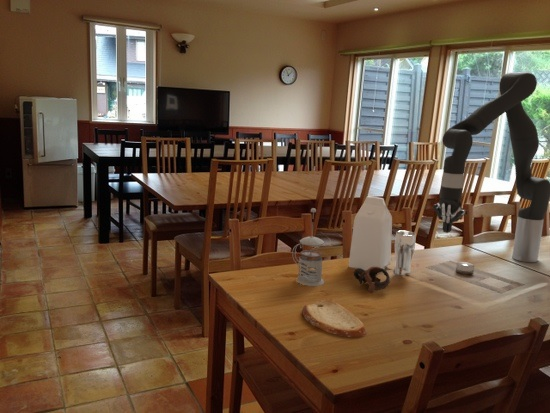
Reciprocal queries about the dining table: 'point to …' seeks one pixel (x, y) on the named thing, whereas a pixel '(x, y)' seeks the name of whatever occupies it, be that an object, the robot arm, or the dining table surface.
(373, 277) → the dark brown twisted loop
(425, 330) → the dining table surface
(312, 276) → the french press
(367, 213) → the milk
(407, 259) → the beer glass
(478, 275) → the grey flat slab
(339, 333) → the bread slice
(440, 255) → the dining table surface
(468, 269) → the glossy grey dome
